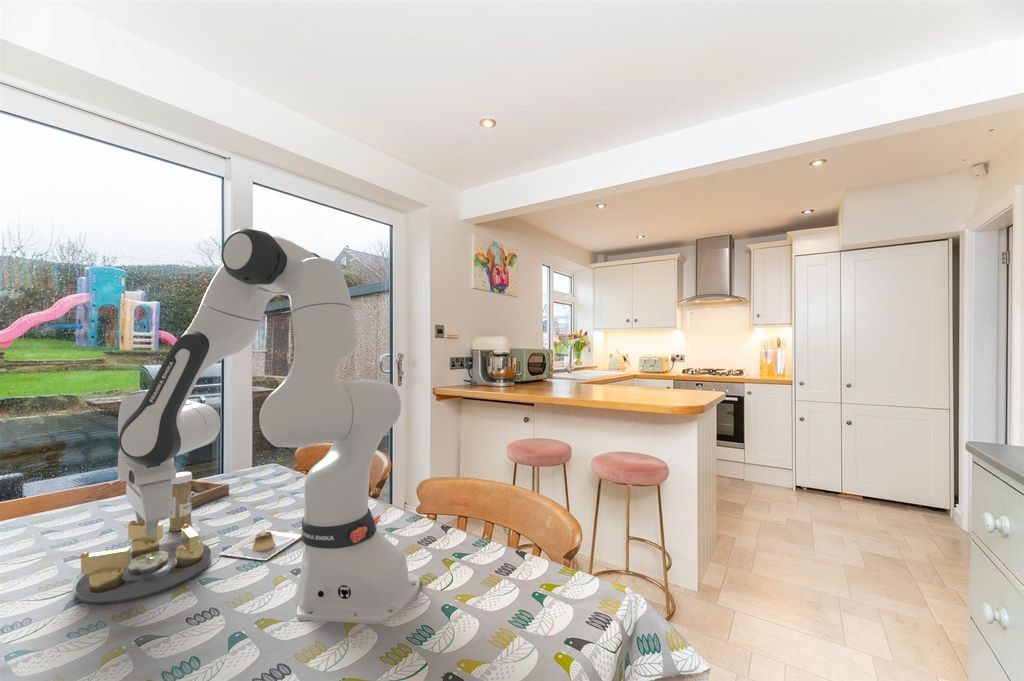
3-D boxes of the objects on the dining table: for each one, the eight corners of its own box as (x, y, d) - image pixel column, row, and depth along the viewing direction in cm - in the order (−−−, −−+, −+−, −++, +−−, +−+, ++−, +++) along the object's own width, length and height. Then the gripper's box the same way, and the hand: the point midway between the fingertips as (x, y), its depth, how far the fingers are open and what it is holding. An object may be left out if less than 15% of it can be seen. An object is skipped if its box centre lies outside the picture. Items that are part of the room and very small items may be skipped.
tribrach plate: (233, 558, 91) (233, 538, 91) (127, 617, 71) (127, 592, 71) (164, 545, 96) (164, 527, 96) (47, 597, 76) (47, 575, 76)
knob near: (207, 562, 85) (207, 529, 85) (180, 571, 82) (180, 537, 82) (197, 551, 89) (197, 519, 89) (171, 559, 86) (171, 526, 86)
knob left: (133, 575, 80) (133, 540, 80) (124, 587, 76) (124, 551, 76) (86, 583, 77) (86, 547, 77) (73, 597, 73) (73, 559, 73)
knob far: (169, 548, 90) (169, 517, 90) (149, 559, 86) (149, 526, 86) (139, 547, 91) (139, 516, 91) (119, 557, 87) (119, 525, 87)
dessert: (261, 534, 103) (261, 514, 103) (304, 539, 100) (304, 519, 100) (218, 559, 91) (218, 537, 91) (265, 565, 89) (265, 542, 89)
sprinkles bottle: (191, 528, 104) (191, 474, 104) (167, 533, 102) (167, 478, 102) (192, 522, 108) (192, 469, 108) (169, 526, 106) (169, 473, 106)
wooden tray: (228, 493, 128) (229, 483, 128) (178, 513, 114) (178, 502, 114) (191, 489, 132) (191, 479, 132) (137, 507, 118) (137, 496, 118)
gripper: (117, 460, 93) (116, 523, 93) (137, 479, 80) (137, 552, 80) (153, 454, 98) (153, 513, 98) (178, 471, 85) (178, 540, 85)
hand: (146, 531), depth 89 cm, fingers open, 6 cm apart
